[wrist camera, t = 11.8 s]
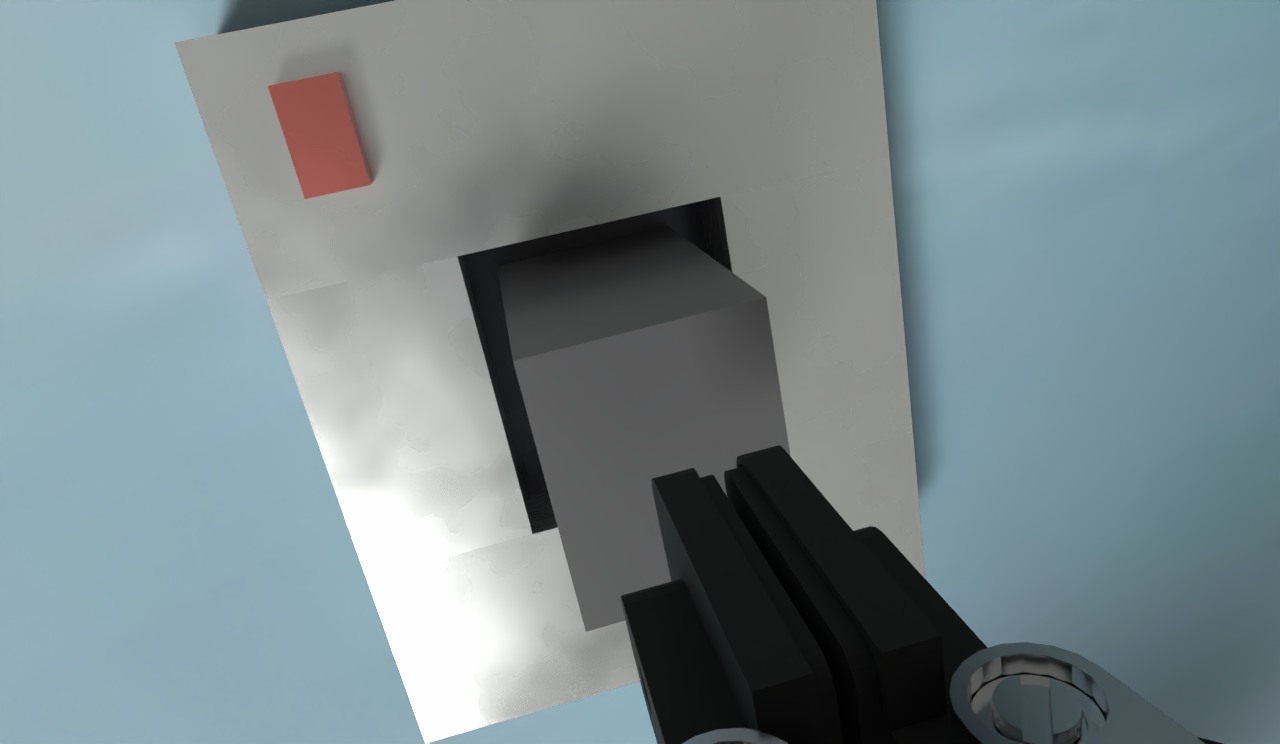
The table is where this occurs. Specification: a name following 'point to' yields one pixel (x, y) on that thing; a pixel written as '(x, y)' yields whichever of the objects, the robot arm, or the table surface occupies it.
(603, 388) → the plug
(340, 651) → the table surface
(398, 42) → the socket plate
